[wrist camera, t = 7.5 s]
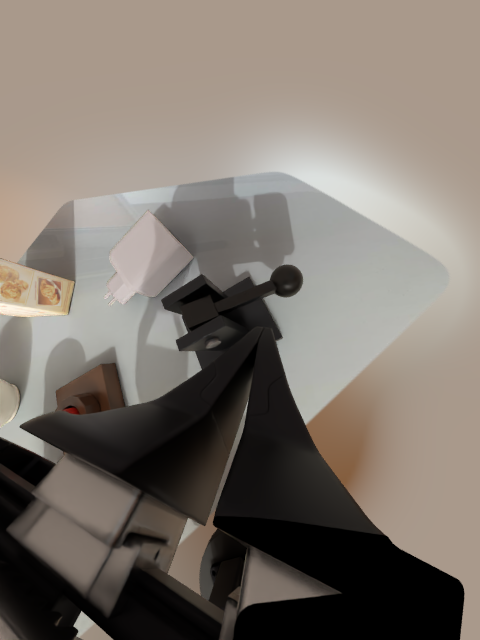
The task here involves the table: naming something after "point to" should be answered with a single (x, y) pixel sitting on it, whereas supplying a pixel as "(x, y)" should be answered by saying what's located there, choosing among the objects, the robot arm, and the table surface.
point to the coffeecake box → (32, 291)
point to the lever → (243, 297)
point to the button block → (92, 391)
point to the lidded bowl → (8, 402)
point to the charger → (145, 260)
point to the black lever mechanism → (218, 319)
